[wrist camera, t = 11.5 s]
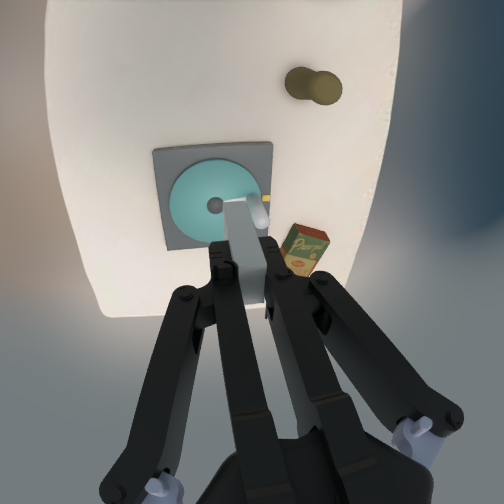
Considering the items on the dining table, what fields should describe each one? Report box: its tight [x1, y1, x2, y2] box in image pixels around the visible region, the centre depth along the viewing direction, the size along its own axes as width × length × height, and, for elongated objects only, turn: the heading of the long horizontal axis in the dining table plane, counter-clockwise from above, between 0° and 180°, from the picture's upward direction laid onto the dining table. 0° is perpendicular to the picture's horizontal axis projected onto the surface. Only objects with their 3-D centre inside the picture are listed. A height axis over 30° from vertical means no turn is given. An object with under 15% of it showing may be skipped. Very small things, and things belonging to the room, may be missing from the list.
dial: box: [169, 158, 270, 243], centre depth 45 cm, size 16×16×10 cm
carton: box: [280, 223, 330, 277], centre depth 62 cm, size 8×16×4 cm, turn 158°
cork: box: [285, 67, 342, 105], centre depth 36 cm, size 6×6×11 cm
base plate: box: [152, 142, 273, 251], centre depth 50 cm, size 20×20×2 cm
